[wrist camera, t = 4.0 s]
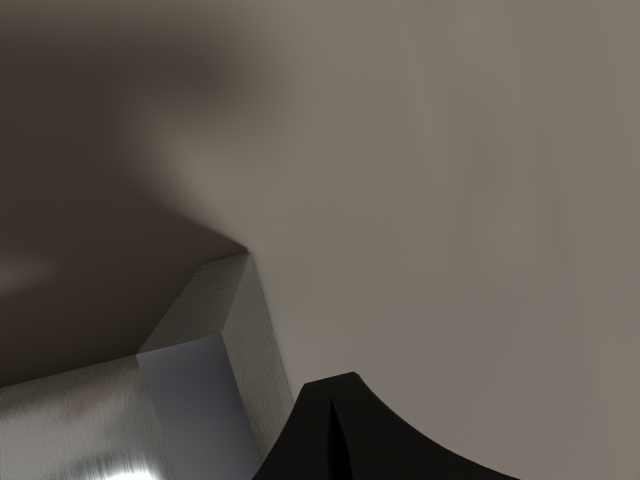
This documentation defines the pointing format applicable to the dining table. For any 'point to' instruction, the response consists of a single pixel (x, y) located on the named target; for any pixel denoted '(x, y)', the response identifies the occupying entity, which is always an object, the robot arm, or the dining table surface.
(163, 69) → the dining table surface
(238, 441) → the silver metal piece
